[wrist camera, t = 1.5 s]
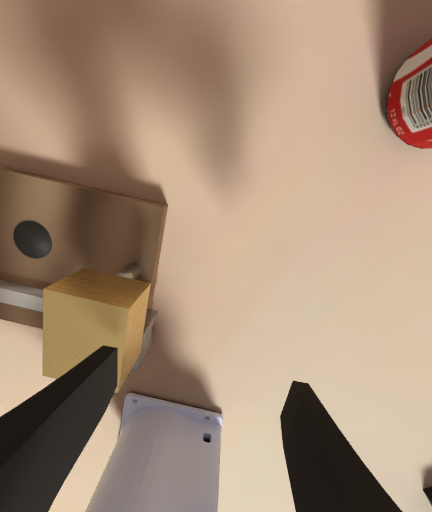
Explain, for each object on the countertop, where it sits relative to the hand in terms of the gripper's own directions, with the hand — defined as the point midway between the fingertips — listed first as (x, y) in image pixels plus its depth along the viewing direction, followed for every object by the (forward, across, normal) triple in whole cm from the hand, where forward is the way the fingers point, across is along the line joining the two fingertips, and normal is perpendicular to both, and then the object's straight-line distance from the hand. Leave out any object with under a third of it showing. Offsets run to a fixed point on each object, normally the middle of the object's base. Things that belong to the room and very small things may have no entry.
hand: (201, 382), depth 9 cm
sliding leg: (+8, +6, +2) cm, 10 cm away
